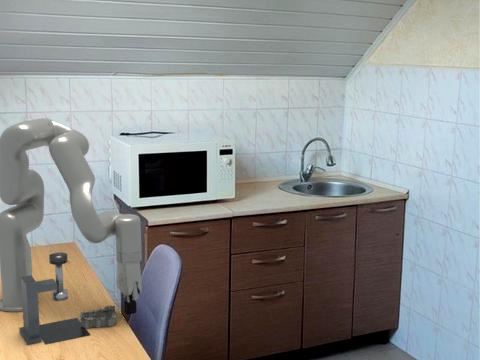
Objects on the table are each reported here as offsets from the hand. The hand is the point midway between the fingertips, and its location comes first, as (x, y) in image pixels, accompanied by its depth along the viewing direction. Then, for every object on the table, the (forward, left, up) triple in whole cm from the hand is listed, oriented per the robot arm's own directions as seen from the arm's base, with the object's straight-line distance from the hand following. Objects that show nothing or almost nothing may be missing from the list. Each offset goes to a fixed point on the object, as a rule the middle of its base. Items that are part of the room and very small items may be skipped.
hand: (130, 312), depth 207 cm
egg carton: (0, -10, -2) cm, 10 cm away
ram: (0, -21, +9) cm, 23 cm away
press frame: (0, -23, -2) cm, 23 cm away
